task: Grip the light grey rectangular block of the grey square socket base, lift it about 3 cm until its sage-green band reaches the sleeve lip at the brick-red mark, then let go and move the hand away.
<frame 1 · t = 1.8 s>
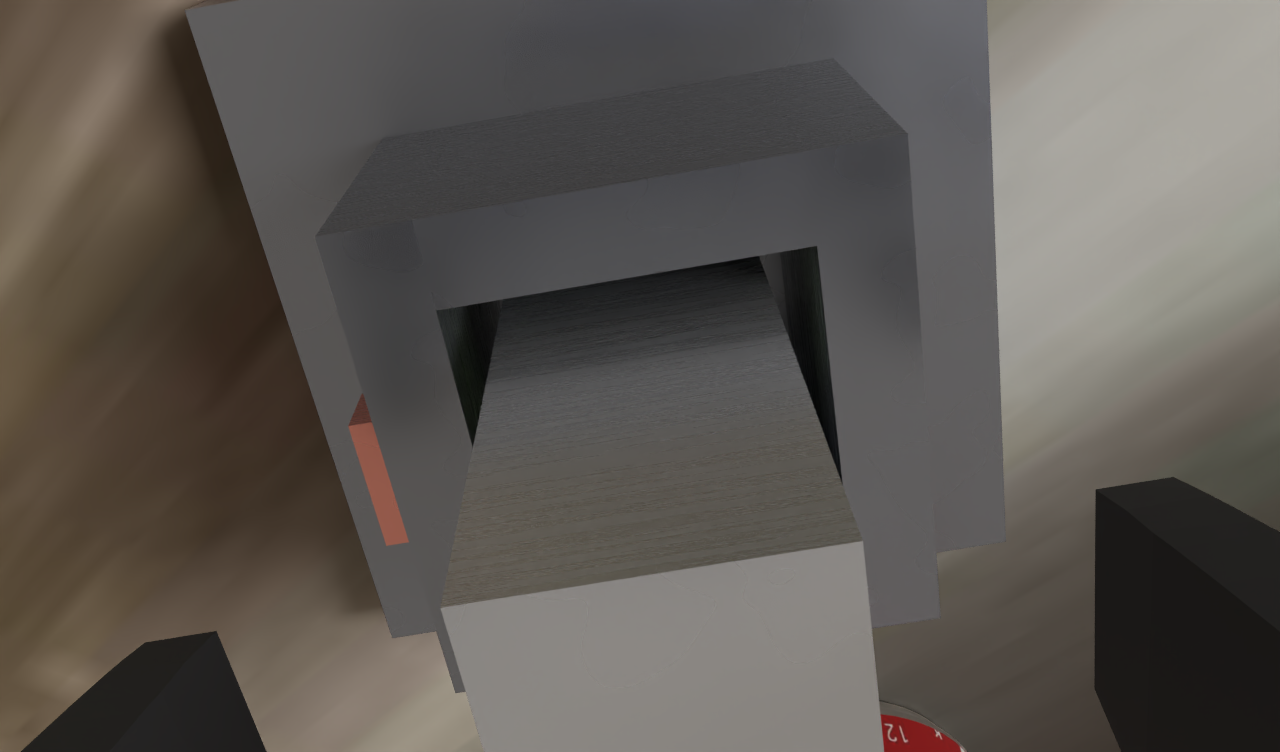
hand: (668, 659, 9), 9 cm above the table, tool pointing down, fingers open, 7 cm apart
grey square socket base: (641, 282, 17), on the table
light grey rectangular block: (657, 460, 12), point 5 cm above the table, slide at 0.0 cm
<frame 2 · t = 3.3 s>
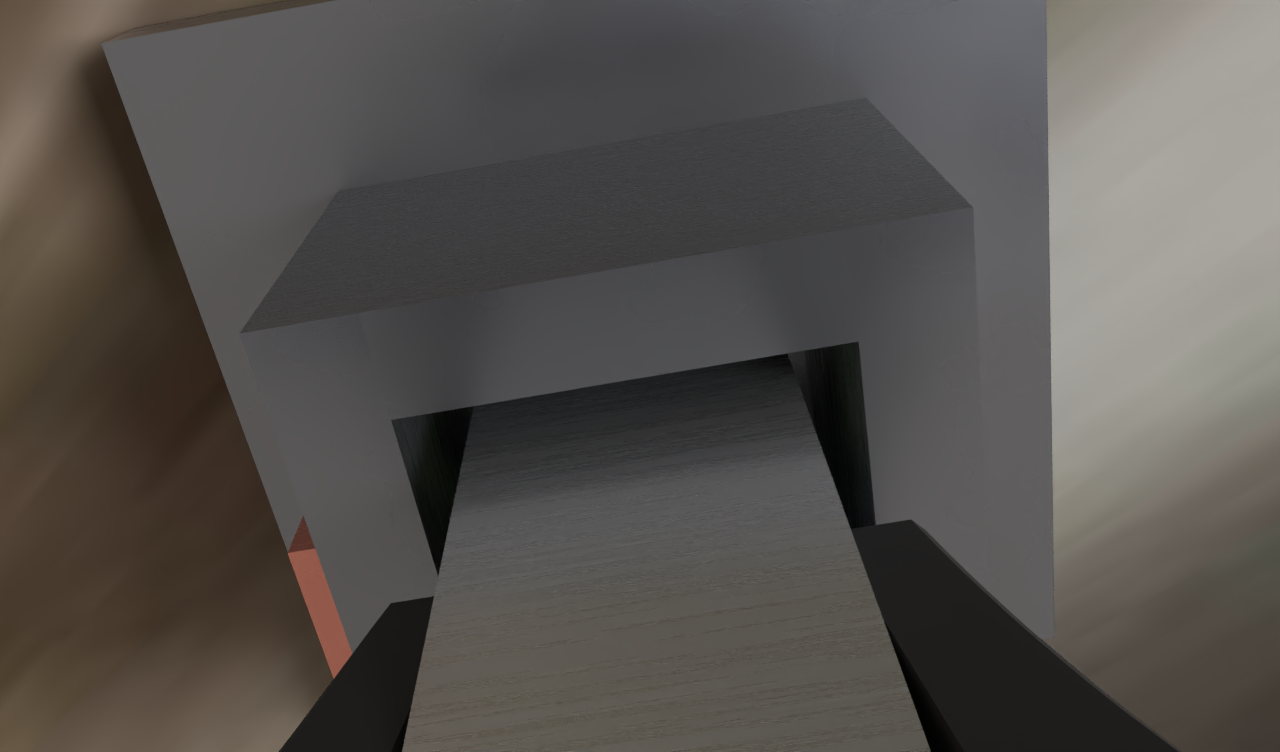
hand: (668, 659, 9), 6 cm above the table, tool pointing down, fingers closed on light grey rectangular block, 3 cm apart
grey square socket base: (641, 348, 15), on the table
light grey rectangular block: (662, 596, 10), point 5 cm above the table, slide at 0.0 cm, touching gripper
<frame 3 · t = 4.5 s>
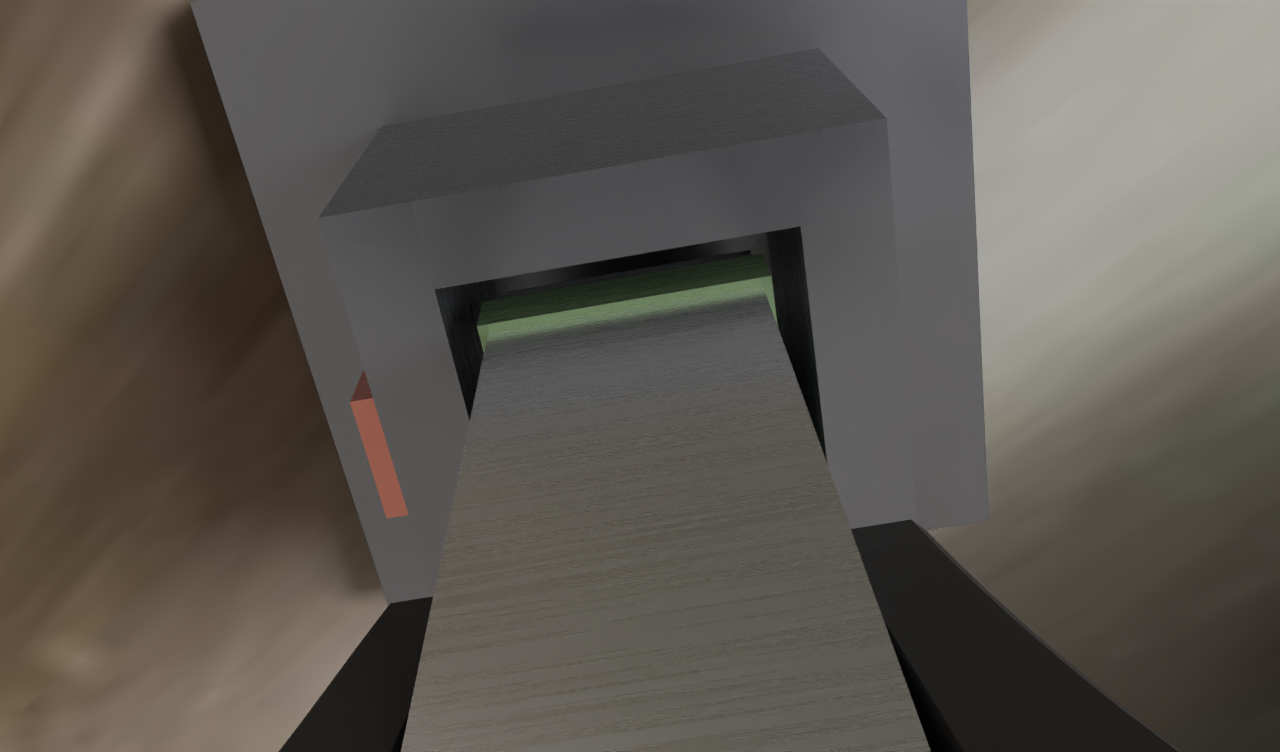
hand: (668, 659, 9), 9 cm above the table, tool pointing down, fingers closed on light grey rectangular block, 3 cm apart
grey square socket base: (633, 267, 18), on the table
light grey rectangular block: (661, 590, 10), point 8 cm above the table, slide at 2.9 cm, touching gripper
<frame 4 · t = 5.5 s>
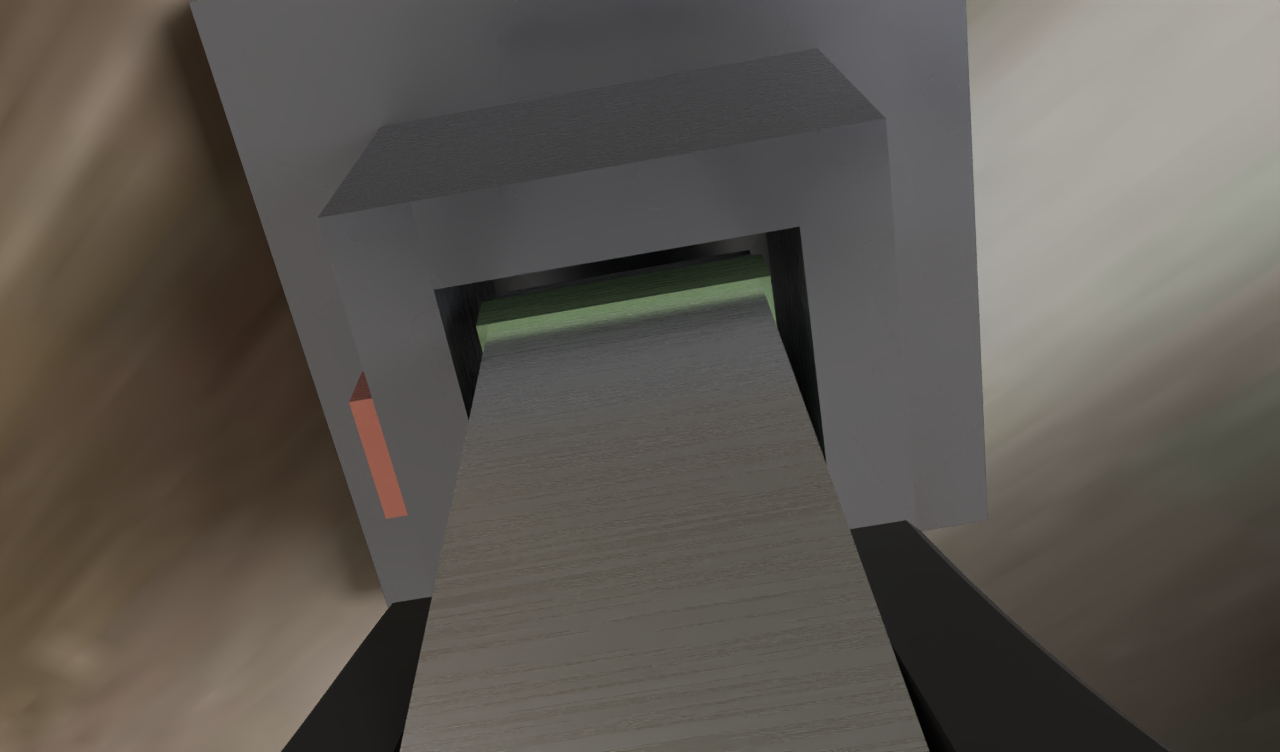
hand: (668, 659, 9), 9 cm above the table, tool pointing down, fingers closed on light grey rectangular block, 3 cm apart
grey square socket base: (633, 267, 18), on the table
light grey rectangular block: (660, 590, 10), point 8 cm above the table, slide at 2.9 cm, touching gripper
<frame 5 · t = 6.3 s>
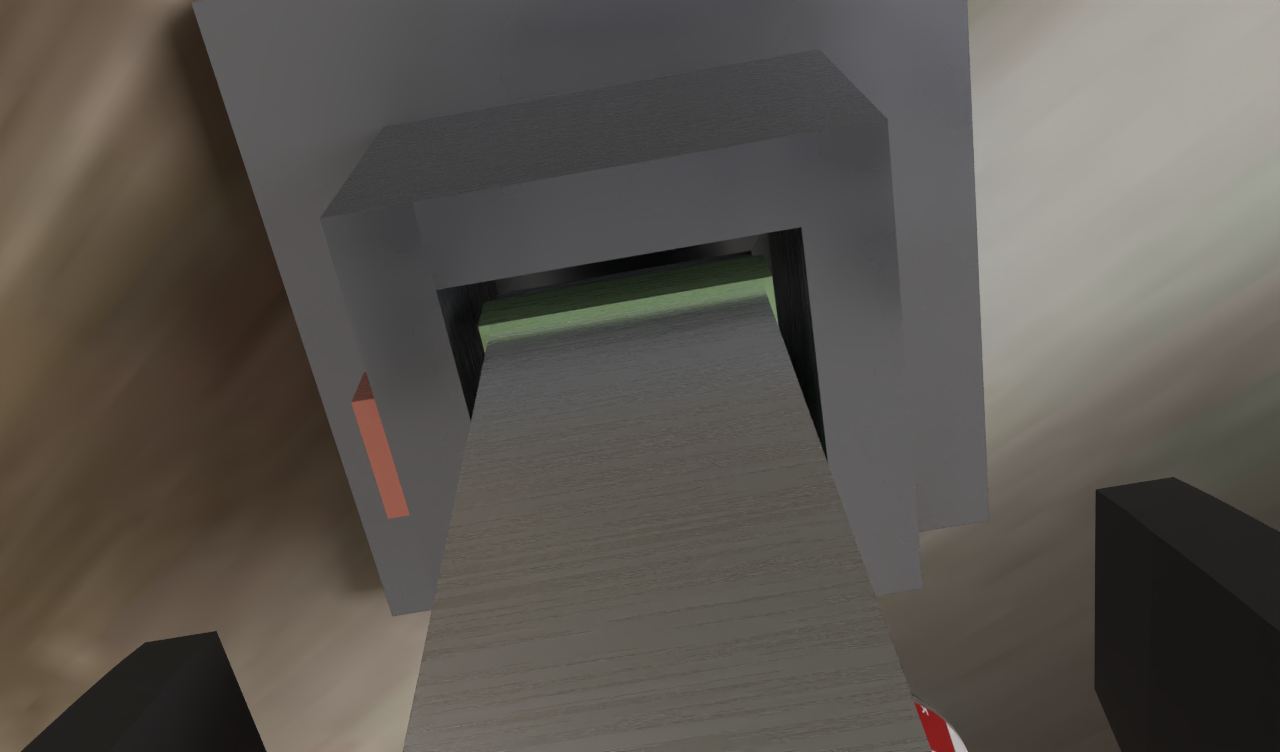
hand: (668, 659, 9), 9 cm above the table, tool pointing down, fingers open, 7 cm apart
grey square socket base: (634, 267, 18), on the table
light grey rectangular block: (662, 590, 10), point 8 cm above the table, slide at 2.9 cm
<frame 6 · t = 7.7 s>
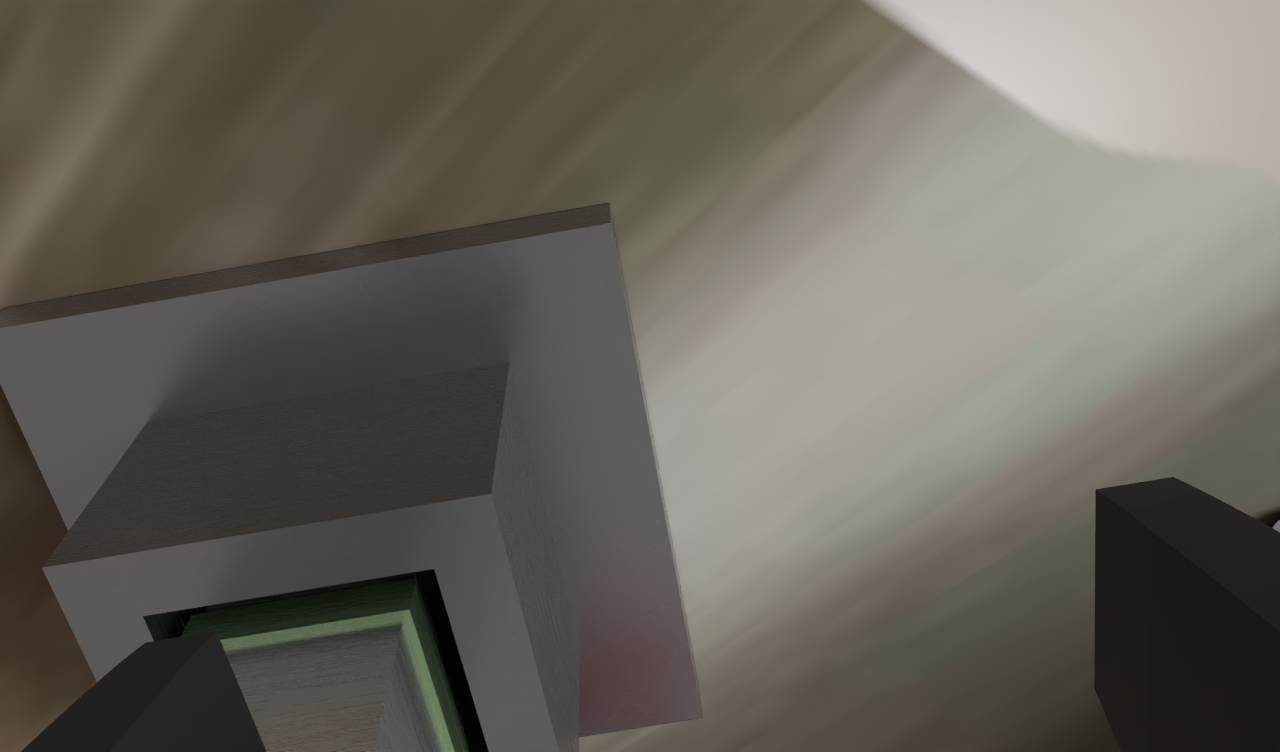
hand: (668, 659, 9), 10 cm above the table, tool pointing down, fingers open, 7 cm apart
grey square socket base: (385, 513, 21), on the table
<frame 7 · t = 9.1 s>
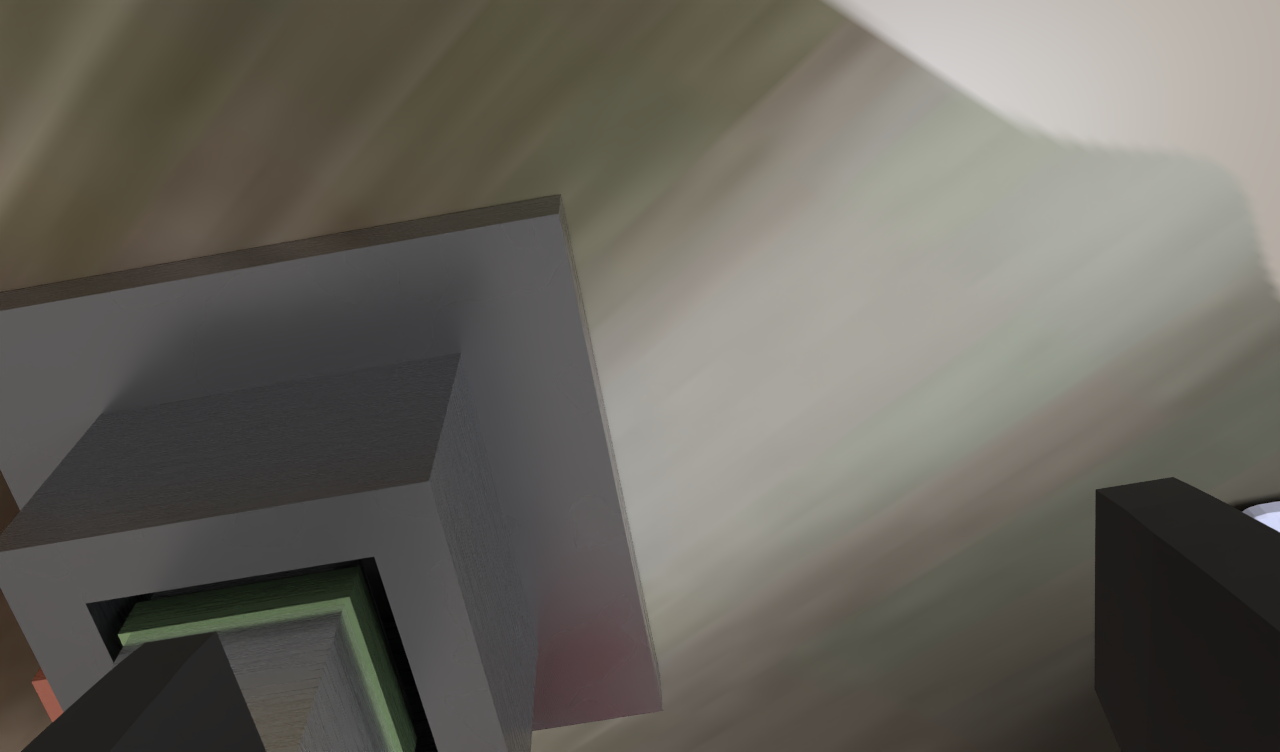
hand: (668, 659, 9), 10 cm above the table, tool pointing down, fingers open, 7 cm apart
grey square socket base: (343, 505, 21), on the table
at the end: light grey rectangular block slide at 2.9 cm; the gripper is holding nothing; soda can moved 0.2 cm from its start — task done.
